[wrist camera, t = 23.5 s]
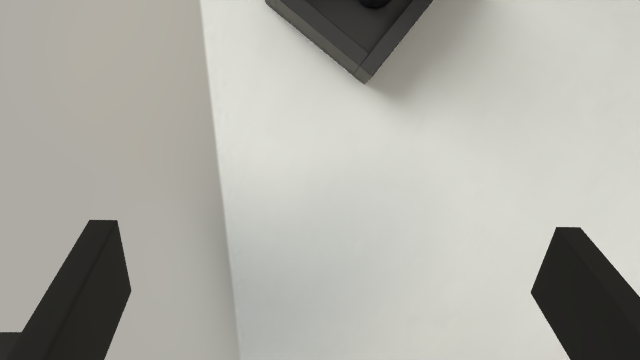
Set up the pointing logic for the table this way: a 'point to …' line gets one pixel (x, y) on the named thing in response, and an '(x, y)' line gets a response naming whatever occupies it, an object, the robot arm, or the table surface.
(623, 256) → the table surface
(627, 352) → the robot arm
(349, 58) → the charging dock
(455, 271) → the table surface
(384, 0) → the two-way radio
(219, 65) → the table surface
